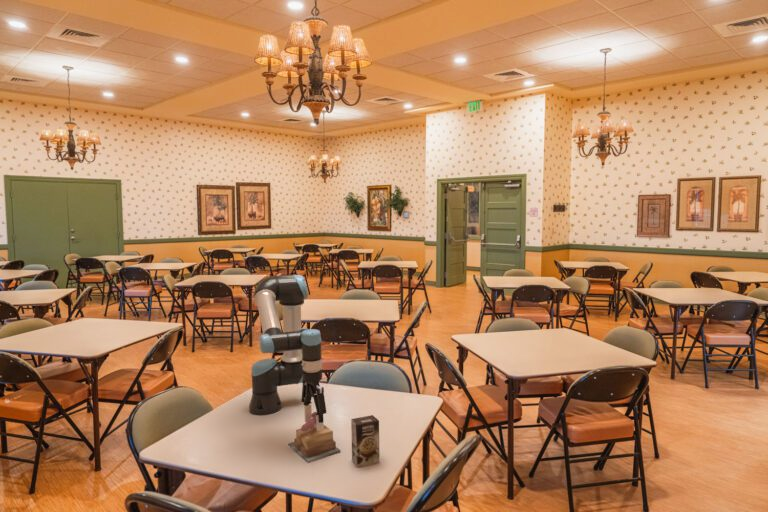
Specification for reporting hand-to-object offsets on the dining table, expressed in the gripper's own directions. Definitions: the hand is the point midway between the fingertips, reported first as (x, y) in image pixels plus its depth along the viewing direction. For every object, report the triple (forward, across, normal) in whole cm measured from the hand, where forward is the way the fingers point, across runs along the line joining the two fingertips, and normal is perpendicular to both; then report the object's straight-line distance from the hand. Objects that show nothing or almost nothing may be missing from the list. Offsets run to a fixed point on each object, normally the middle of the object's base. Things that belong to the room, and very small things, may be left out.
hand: (314, 425), depth 193 cm
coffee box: (+10, +20, +11) cm, 25 cm away
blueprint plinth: (+10, -1, 0) cm, 10 cm away
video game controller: (0, 0, -1) cm, 1 cm away
